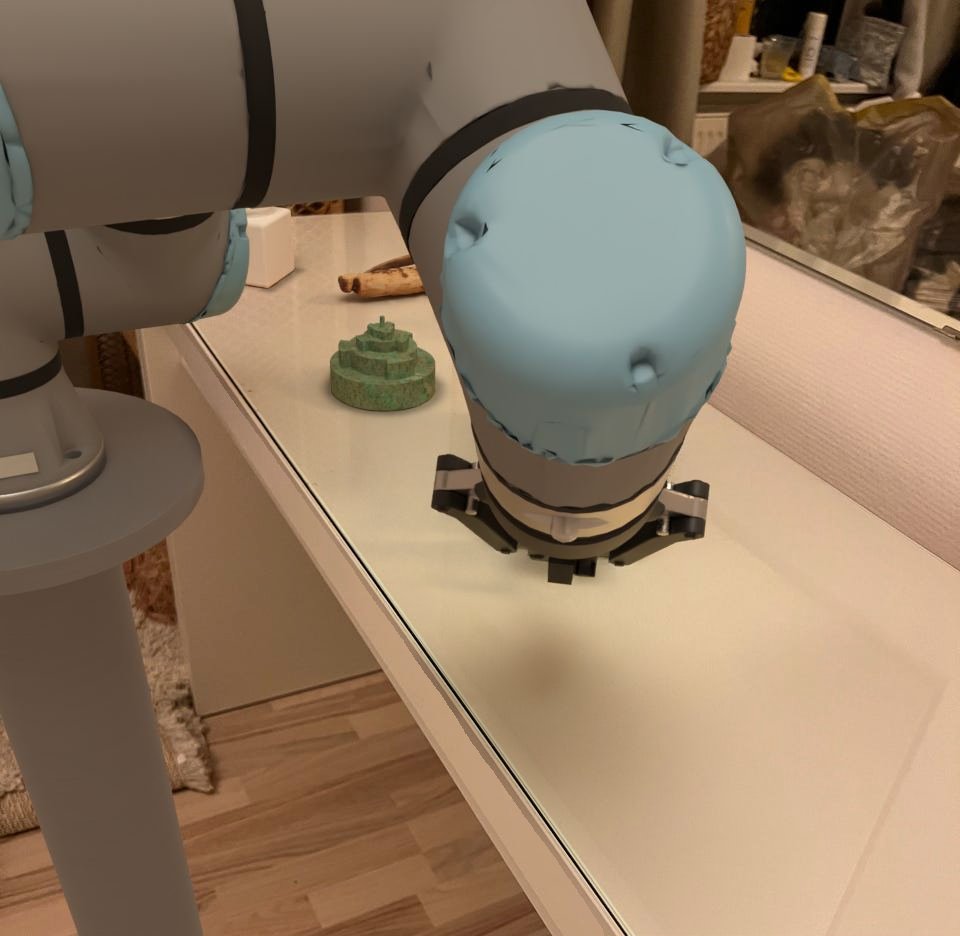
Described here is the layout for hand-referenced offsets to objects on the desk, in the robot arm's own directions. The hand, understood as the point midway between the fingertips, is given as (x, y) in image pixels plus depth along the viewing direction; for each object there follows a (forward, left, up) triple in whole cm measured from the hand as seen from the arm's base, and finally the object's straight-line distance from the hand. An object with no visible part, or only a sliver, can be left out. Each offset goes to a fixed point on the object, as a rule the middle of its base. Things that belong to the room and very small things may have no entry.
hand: (561, 562), depth 61 cm
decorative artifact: (-41, +5, -7) cm, 42 cm away
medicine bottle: (-75, +3, -7) cm, 75 cm away
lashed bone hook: (-65, +18, -7) cm, 68 cm away
